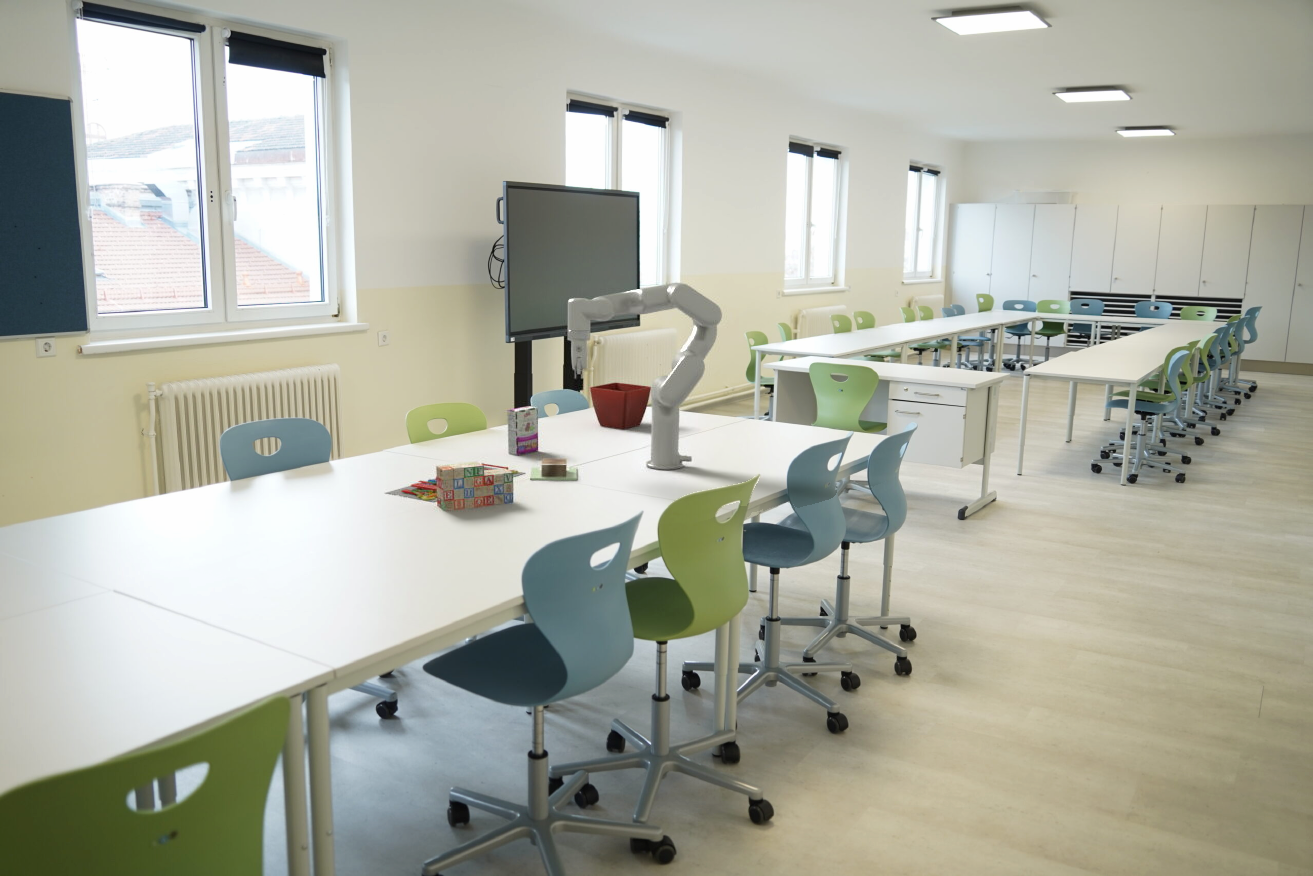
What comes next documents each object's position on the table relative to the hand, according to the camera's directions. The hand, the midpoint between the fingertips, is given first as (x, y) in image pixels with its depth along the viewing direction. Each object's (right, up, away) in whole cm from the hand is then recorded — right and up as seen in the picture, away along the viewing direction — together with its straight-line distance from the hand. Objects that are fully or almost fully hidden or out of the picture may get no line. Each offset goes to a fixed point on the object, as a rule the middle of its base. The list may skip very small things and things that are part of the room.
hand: (578, 390), depth 331 cm
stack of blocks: (-27, -36, -43) cm, 62 cm away
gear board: (-37, -31, -18) cm, 52 cm away
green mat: (-8, -28, -4) cm, 30 cm away
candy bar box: (-23, -22, +29) cm, 43 cm away
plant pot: (+11, -11, +86) cm, 87 cm away
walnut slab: (-8, -25, -2) cm, 26 cm away
